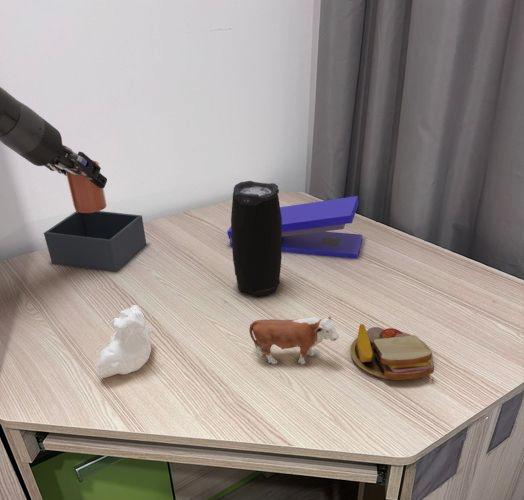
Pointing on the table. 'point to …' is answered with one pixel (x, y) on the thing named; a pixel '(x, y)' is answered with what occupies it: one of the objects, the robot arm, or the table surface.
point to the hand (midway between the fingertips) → (91, 181)
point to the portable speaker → (256, 237)
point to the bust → (126, 344)
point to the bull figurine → (291, 335)
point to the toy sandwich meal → (391, 354)
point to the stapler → (319, 228)
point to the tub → (96, 240)
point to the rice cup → (85, 193)
